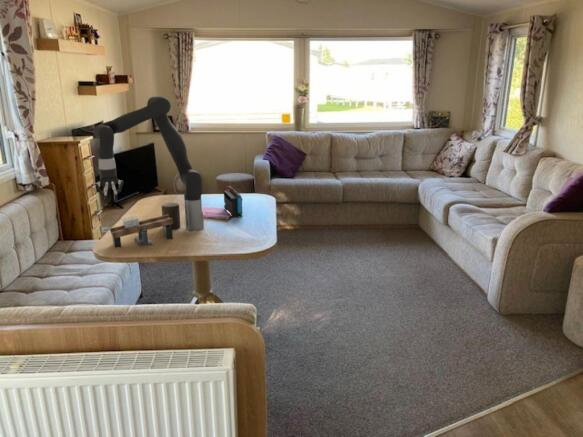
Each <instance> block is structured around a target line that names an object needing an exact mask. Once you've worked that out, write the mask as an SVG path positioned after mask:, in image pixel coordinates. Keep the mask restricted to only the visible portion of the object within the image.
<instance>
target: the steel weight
mask: <svg viewBox="0 0 583 437" xmlns="http://www.w3.org/2000/svg"><path fill="white" fill-rule="evenodd" d="M139 221H140V220H139V217H138V216H137V215H134V216H130V217H126V218H125V217H124V218H122V225H124V229H129V228H133V227H137V226H140V225H139Z"/></svg>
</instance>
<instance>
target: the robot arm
mask: <svg viewBox="0 0 583 437" xmlns="http://www.w3.org/2000/svg"><path fill="white" fill-rule="evenodd" d="M171 107H172V106H171V102H170V100H169V99H168V98H166V97H164V96H151V97H149V98H148V100H147V101H146V105H145V106H144V107H142V108H139V109H136V110H133V111H131V112H127V113H125V114H122V115H119V116H118V117H116V118H114V119H112V120H109V121H106V122H103V123H100V124H98V125H97V126H95V127H94V129H93V136H94V137H95V138H96V139H97V140H99V146H98V147H97V158H98V171H99V181H97V182H94V186H95V188H96V189H97V191H98V193H99V195H102V196H103V198H104V201H105V203H106V204H108V203H109V198H108V190H109V189H112V191H113V200H114V202H116V203H117V202H118V198H119V196H118V194H120V193H121V192H122V189H123V187H124V184H125V181H124V180H122V179H121V180H120V179H118V176H117V175H118V174H117V166H116V164H117V163H116V160H115V153H114V145H115V134H120V133H124V132H126V131H128V130H130V129H131V128H134V127H135V126H138V125H139V124H142V123H144V122H146V121H148V120H151V119H153V121H154V122H155V124H156V126H157V128H158V130H159V133H160V134H161V137H162V139H163V141H164V143H165V144H164V145H165V146H166V148H167V150H168V152H169V154H170V157H171V158H172V160H173V162H174V164H175V166H176V169H177V171H178V174H179V178H180V180H181V182H182V183H183V184H184V185H185V190H186V191H185V193H184V195H183V199H184V202H183V204H184V215H185V230H187V231H194V232H195V231H200V230H202V229H205V224H204V220H205V219H204V212H203V209H202V207H203V206H202V195H203V179H202V175H201V174H200V172H198V171H196V170H194V168H193V167H192V165H191V163H190V161H189V159H188V153H187V151H188V150H187V146H186V144H185V141H184V139H183V137H182V134H181V133H180V131H179V130H178V129H177V127H176V126H174V124H173V123H172V121H171V120H170V118H169V116H168V113H169V112H170V110H171ZM101 185H102V186H103V190H102V189H101ZM116 185H118V188H116Z"/></svg>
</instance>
